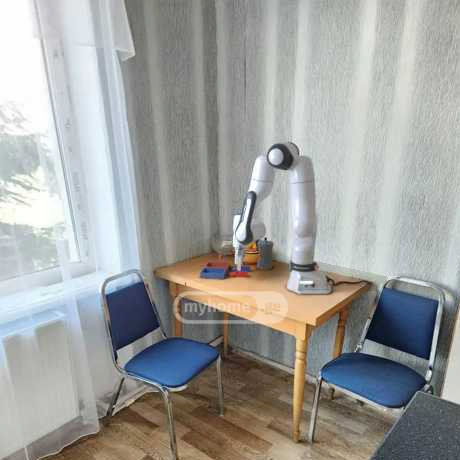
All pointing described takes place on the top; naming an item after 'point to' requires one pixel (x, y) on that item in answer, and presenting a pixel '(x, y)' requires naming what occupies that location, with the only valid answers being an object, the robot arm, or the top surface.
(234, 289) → the top surface
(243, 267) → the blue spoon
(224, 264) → the red bin
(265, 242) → the coffeepot
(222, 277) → the blue bin
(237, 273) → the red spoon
